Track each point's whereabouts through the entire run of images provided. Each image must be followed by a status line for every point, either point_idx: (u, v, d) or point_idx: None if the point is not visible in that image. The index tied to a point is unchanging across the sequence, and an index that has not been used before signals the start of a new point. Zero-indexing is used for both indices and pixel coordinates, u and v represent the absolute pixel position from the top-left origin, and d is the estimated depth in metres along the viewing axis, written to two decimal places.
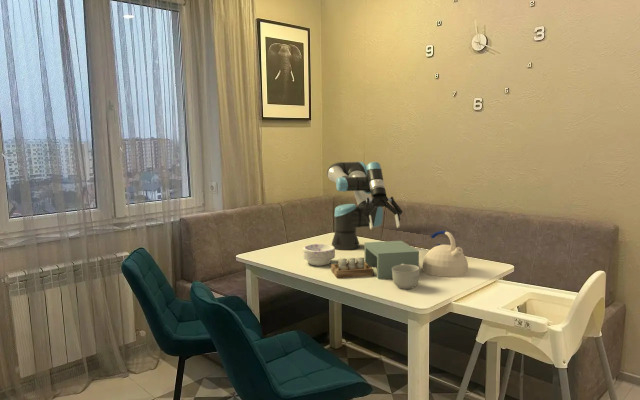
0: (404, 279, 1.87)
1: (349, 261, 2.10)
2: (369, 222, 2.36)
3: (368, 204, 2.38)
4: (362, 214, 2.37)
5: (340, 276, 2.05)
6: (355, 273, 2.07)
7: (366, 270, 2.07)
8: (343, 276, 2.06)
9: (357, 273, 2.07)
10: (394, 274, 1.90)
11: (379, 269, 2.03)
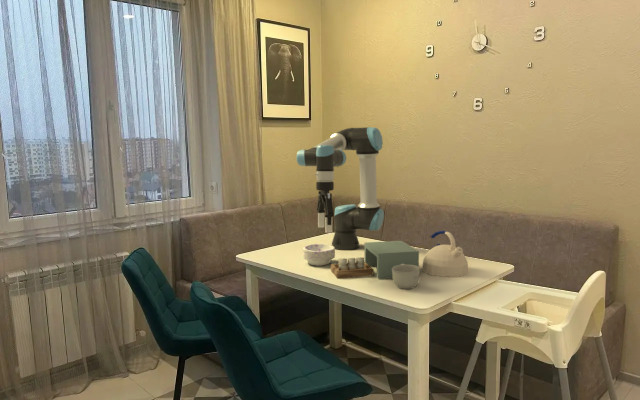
0: (404, 279, 1.87)
1: (349, 261, 2.10)
2: None
3: (318, 199, 2.13)
4: None
5: (341, 276, 2.05)
6: (355, 273, 2.07)
7: (366, 270, 2.07)
8: (343, 276, 2.06)
9: (357, 273, 2.07)
10: (394, 274, 1.90)
11: (379, 269, 2.03)
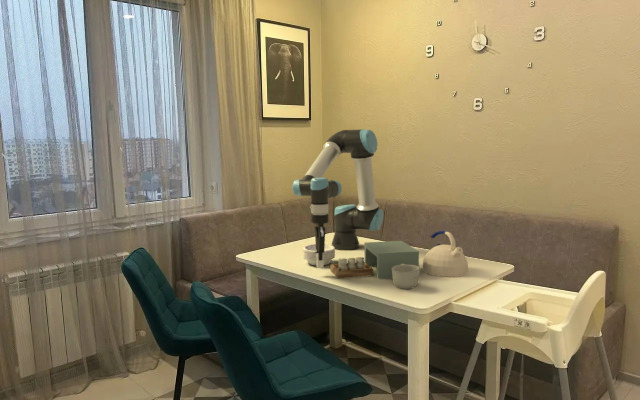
0: (404, 279, 1.87)
1: (349, 261, 2.10)
2: None
3: (315, 235, 2.11)
4: None
5: (341, 276, 2.05)
6: (356, 273, 2.07)
7: (367, 270, 2.08)
8: (344, 276, 2.06)
9: (358, 273, 2.07)
10: (394, 274, 1.90)
11: (379, 269, 2.03)
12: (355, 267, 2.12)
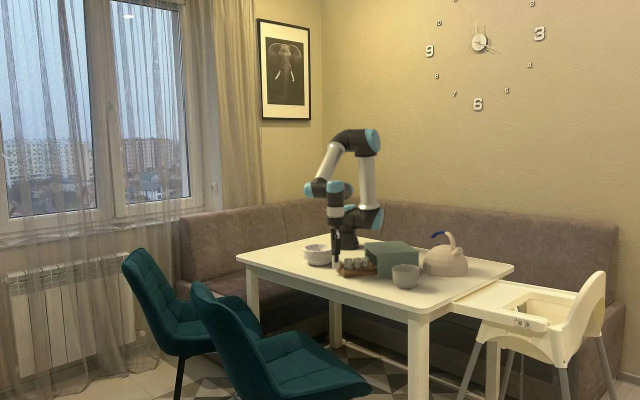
0: (404, 279, 1.87)
1: (355, 261, 2.11)
2: None
3: (331, 237, 2.13)
4: None
5: (347, 276, 2.06)
6: (362, 272, 2.07)
7: (372, 269, 2.08)
8: (350, 276, 2.06)
9: (364, 272, 2.08)
10: (394, 274, 1.90)
11: (379, 269, 2.03)
12: (361, 267, 2.12)
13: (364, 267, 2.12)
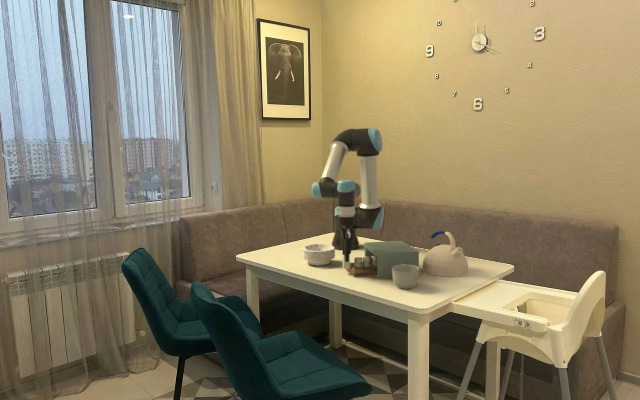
0: (404, 279, 1.87)
1: (365, 260, 2.12)
2: None
3: (341, 237, 2.14)
4: None
5: (357, 275, 2.07)
6: (371, 271, 2.09)
7: None
8: (360, 275, 2.07)
9: (374, 271, 2.09)
10: (394, 274, 1.90)
11: (379, 269, 2.03)
12: (370, 266, 2.13)
13: (374, 266, 2.13)
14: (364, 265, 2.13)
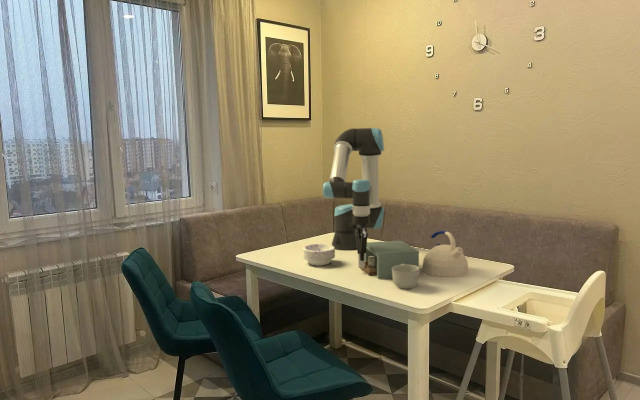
0: (404, 279, 1.87)
1: None
2: None
3: (356, 236, 2.15)
4: None
5: (372, 273, 2.09)
6: None
7: None
8: (375, 274, 2.09)
9: None
10: (394, 274, 1.90)
11: (379, 269, 2.03)
12: None
13: None
14: None
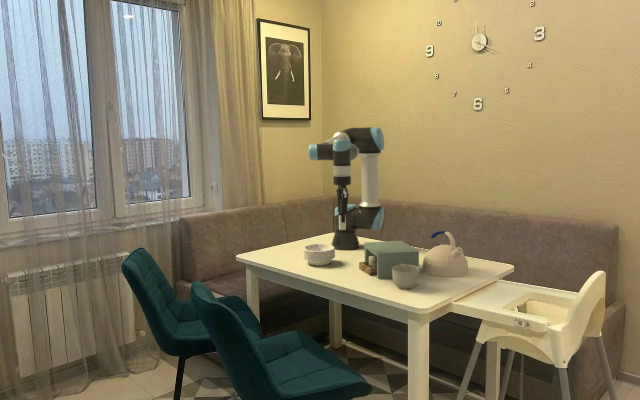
0: (404, 279, 1.87)
1: None
2: None
3: (337, 198, 2.11)
4: None
5: (373, 273, 2.09)
6: None
7: None
8: (376, 274, 2.09)
9: None
10: (394, 274, 1.90)
11: (379, 269, 2.03)
12: None
13: None
14: None
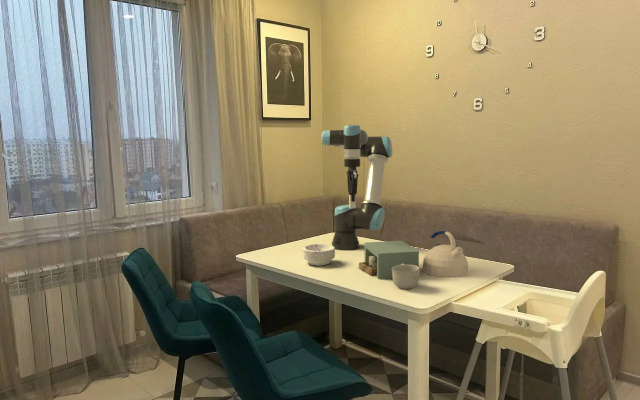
0: (404, 279, 1.87)
1: None
2: None
3: (347, 179, 2.29)
4: None
5: (374, 274, 2.08)
6: None
7: None
8: None
9: None
10: (394, 274, 1.90)
11: (379, 269, 2.03)
12: None
13: None
14: None
